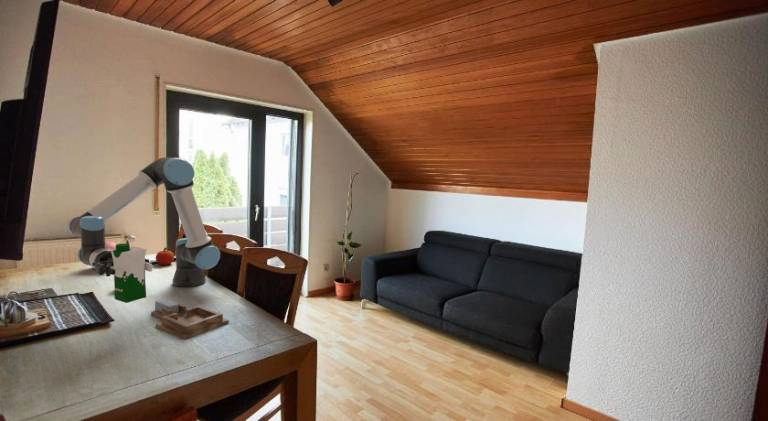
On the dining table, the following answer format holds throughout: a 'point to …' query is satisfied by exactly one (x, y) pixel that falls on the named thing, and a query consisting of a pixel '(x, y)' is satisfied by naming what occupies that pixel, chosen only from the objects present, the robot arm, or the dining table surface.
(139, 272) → the soya milk
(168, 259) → the fruit
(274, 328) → the dining table surface
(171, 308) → the lock bar
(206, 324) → the brown wooden tray
